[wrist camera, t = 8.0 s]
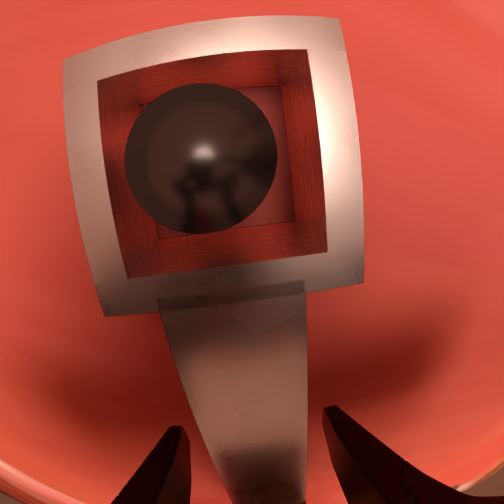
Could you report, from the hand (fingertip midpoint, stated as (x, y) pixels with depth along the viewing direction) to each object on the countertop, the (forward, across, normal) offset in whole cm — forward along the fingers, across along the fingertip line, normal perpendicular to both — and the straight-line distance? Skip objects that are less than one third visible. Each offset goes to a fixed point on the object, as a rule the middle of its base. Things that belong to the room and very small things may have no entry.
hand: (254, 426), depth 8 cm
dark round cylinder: (+2, 0, -8) cm, 8 cm away
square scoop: (+2, 0, -3) cm, 3 cm away
